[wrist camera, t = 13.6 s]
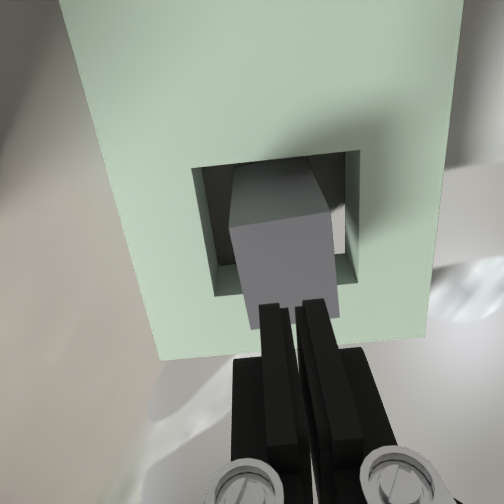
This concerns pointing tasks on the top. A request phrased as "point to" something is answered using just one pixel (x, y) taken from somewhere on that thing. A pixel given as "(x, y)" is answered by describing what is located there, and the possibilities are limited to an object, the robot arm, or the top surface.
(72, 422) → the top surface
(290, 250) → the plug
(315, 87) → the socket plate
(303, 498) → the robot arm
